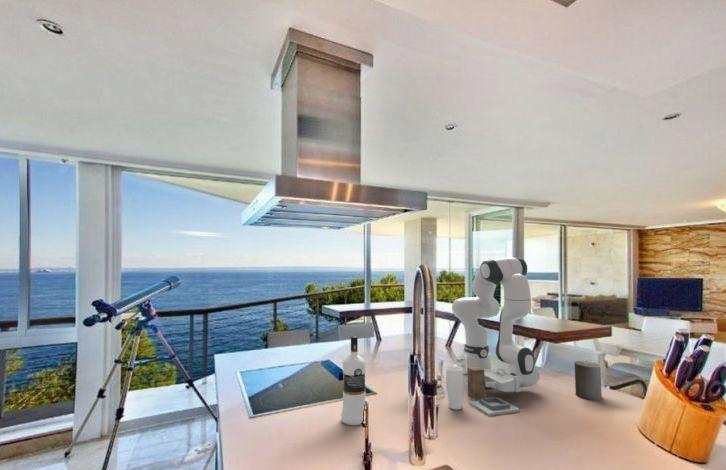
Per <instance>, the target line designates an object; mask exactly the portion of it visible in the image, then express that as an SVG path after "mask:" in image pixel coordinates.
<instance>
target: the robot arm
mask: <svg viewBox="0 0 726 470" xmlns="http://www.w3.org/2000/svg"><path fill="white" fill-rule="evenodd" d="M527 272H528V265H527V262H526V261H525V259H523V258H521V257H516V256H513V257H511V256H510V257H509V256H503V257H498V258H486V259H483V261H481V263H480V265H479V267H478V269H477V270H476V273H475V276H474V280H473V281H472V285H471V290H472V292H473V293H474V295H475V296H473V297H471V296H470V297H467V296H466V297H465V296H464V297H460V298H456V299H454V301H453V302H452V305H451V310H452V313H453V315H454V316H455V317H456V318H457V319H459V321H460V322H461V324H462V325H463V327H464V332H465V333H464V334H465V343H464V344H463V351H462V352H461V353H459V354H458V356H457V357H456V363H454V364H452V366H454V367H460V368H462V369H463V373H464V375H467V367H479V368H482V369H484V380H485V382H484V386H485V388H491V389H492V388H493V389H497V390H499V391H500V392H504V393H509V392H510V393H513V392H514V393H520V388H527V387H532V386H534V385H536V384H537V383H538V382H539V381H540V375H541V373H540V371H539V369H538V368H537V366H536V363H535V355H534V351H533V350H532V349H530V348H529V347H526V346H524V345H520V344H518V343H515V342H514V340H513V331H514V329H513V328H514V323H515V322H516V321H517V320H520V319H523V318H525V317H527V316H528V315H529V314H530V313H531V310H532V297H531V295H532V293H531V289H530V284H529V280H528V277H526V275H527V274H528V273H527ZM499 284H501V285H502V287H503V308H502V309H501V308H500V303H499V302H498V301H499V300H497V299H496V298H495V297H494V294H495V291H496V288H497V285H499ZM500 309H501V311H500ZM499 313H500V314H499ZM498 314H499V323H498V324H499V325H498V338H497V343H496V346H495V354H496V358H497V359H498V360H500V361H501V363H505V364H509V365H510V366H505V367H499V368H497V369H496V370H495V371H494V369H493V366H492V359H491V354H489V353H490V347H489V343H488V341H489V340H488V338H489V337H488V330H487V329H486V328H485V327H484V326H483V325H481V324H479V322H478V319H488V318H490V319H491V318H494V317H496V316H498Z"/></svg>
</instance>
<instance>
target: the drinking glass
mask: <svg viewBox="0 0 726 470" xmlns="http://www.w3.org/2000/svg"><path fill="white" fill-rule="evenodd" d="M464 375H465V374H464V373H463V369H462V368H460V367H454V366H453V365H452V366H448V367H446V369H445V377H446V378H445V380H446V389H447V390H446V391H447V399H448V403H447V404H448V408H449V409H451V410H456V411H459V410H461V409H463V401H464V400H463V397H464V380H465V376H464Z"/></svg>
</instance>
